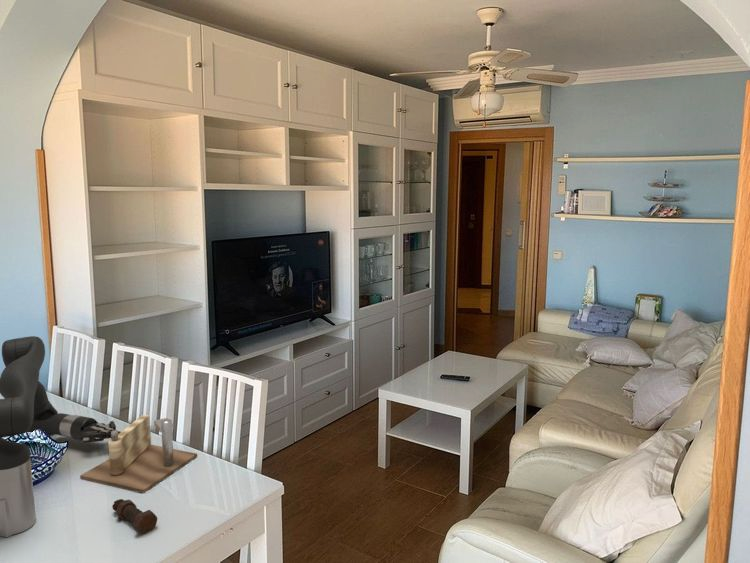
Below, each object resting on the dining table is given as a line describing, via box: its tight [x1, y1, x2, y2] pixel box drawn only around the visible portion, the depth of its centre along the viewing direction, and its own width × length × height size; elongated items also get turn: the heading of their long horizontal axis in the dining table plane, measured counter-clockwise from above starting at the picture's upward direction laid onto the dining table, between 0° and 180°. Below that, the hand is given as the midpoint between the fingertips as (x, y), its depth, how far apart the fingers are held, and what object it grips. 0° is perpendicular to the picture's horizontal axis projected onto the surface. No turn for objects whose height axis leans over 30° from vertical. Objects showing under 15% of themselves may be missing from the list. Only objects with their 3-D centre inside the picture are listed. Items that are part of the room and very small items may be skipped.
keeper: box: [153, 417, 175, 467], centre depth 178 cm, size 4×8×14 cm, turn 35°
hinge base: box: [79, 429, 198, 494], centre depth 177 cm, size 24×23×14 cm
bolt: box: [111, 498, 158, 535], centre depth 149 cm, size 6×5×15 cm
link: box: [107, 414, 152, 475], centre depth 180 cm, size 21×4×10 cm, turn 175°
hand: (120, 435), depth 186 cm, fingers closed
